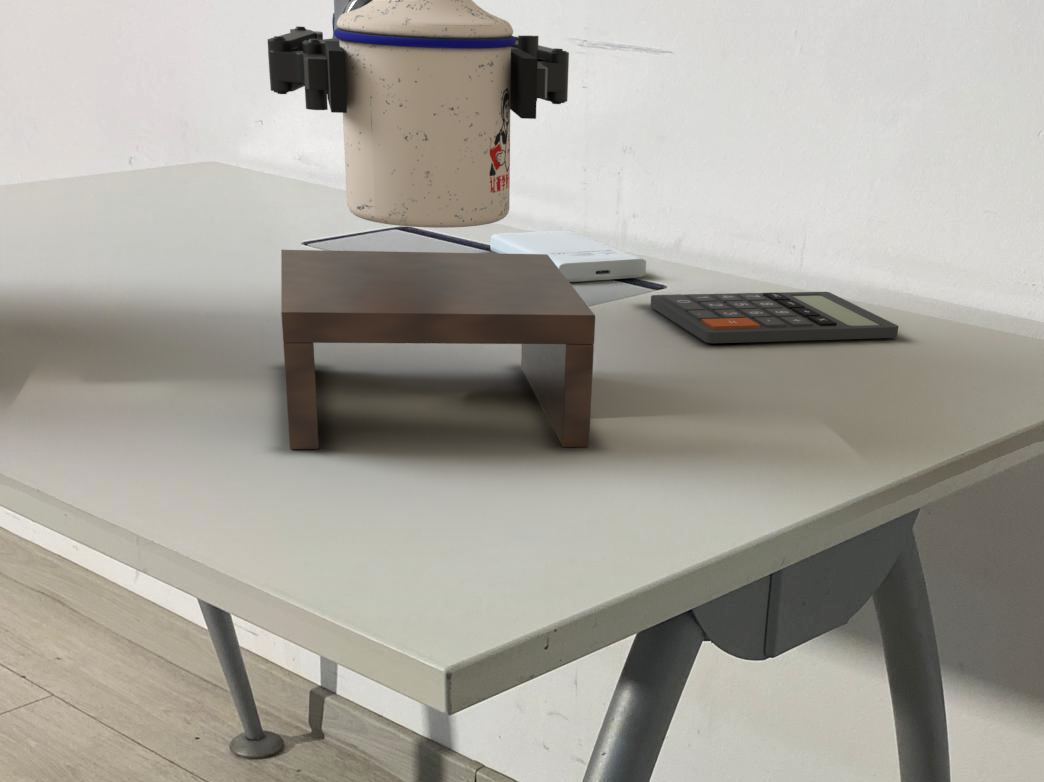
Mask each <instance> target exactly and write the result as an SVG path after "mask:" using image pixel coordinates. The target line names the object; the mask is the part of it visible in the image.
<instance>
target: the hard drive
mask: <svg viewBox="0 0 1044 782" xmlns="http://www.w3.org/2000/svg"><path fill="white" fill-rule="evenodd" d="M489 247H490V251H491V252H492V253H498V254H547V255H548V256H549V257H550V258H551V260H552V261H553V262H554V263H555V265H556V266H557V267H558V269H559V270H560V271H561V272H562V274H563V275H564V276H565V277H566V279H567V280H568V281H569V283H577V282H578V283H579V282H591V281H592V282H594V281H610V280H611V281H612V280H622V279H624V280H625V279H636V278H637V279H639V278H642V277H643V276H645V275H646V274H647V273H646V272H647V260H646V259H644V258H641V257H639V256H637V255H634V254H631V253H629V252H626V251H623V250H621V249H618V248H617V247H613V246H611V245H608V244H605V243H603V242H601V241H599V240H595V239H593V238H590V237H588V236H586V235H583V234H580V233H577V232H575V231H572V230H549V231H545V230H544V231H526V232H525V231H524V232H503V233H494V234H492V235H490V245H489Z"/></svg>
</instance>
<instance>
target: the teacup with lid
mask: <svg viewBox="0 0 1044 782" xmlns="http://www.w3.org/2000/svg"><path fill="white" fill-rule="evenodd" d="M336 25H337V27H338V28H337V29H335V31H334V35H335V37H336V38H338V39H339V42H340V47H342V48H343V49H344V54H345V79H346V104H347V113H342V123H343V125H342V126H343V146H344V147H343V148H344V149H343V150H344V170H345V173H344V174H345V192H346V206H347V208H348V210H349V211H350V213H351V214H352V215H354V216H355V217H358V218H360V219H362V220H366V221H369V222H373V223H379V224H383V225H384V224H385V225H391V226H399V227H411V228H436V229H437V228H439V229H441V228H443V229H445V228H446V229H449V228H468V227H469V228H470V227H479V226H484V225H485V226H486V225H491V224H493V223H497V222H499V221H502V220H503V219H505V218H506V217H507V216H508V214H509V212H510V193H511V192H510V188H511V187H510V185H511V183H510V182H511V180H510V179H511V176H510V175H511V109H510V92H511V46H513V45H515V43H516V39H515V37H516V36H514V35H513V34H514V28H513V27H512V25H511V23H510V22H509V21H507V20H506V19H503V18H501V17H498V16H497V15H494V14H492V13H489V12H488V11H486V10H484V9H483V8H481V7H480V6H479V5H478V4H477V3H476V2H475V1H473V0H372V1H371V2H370V3H368V4H367V5H365V6H363V7H361V8H359V9H356V10H353V11H350V12H347V13H344V14H342V15H341V16H340V17H339V19H338V21H337V24H336Z"/></svg>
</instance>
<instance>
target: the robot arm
mask: <svg viewBox="0 0 1044 782" xmlns="http://www.w3.org/2000/svg"><path fill="white" fill-rule="evenodd" d="M371 1H372V0H333V13H332V16H331V25H332V37H331V38H325V39H324V33H323V32H322V31H319V30H318V31H317V30H311V29H307V28H306V26H301V25H300V26H295V28H291V29H289V32H288V33H284V34H280V35H274V36H273V37H271V38H267V57H268V71H269V73H268V74H269V84H270V86H269V87H270V91H271V92H273V93H276V94H277V95H288V93H290V92H295V91H298V90H299V89H301V88H304V100H305V101H304V102H305V109H306V110H309V111H310V110H311V111H328V110H329V109H330V113H337V114H343V113H347V104H346V79H345V54H344V49H343V48H342V47H340V42H339V39H338V38H336V37H335V35H334V31H335V29H337V28H338V27H337V25H336V24H337V21H338V19H339V17H340V16H341V15H342V14H344V13H347V12H350V11H353V10H356V9H359V8H361V7H363V6H365V5H367V4H368V3H370V2H371ZM514 37H515V39H516V43H515V45H513V46H511V92H510V111H512V112H513V113H514V114H515V115H517V116H518V117H519V118H520V119H524V120H525V119H529V120H536V119H537V102H538V99H541V100H543V101H547V102H550V103H551V104H552V105H562V104H566V103H567V102H568V99H569V97H568V96H569V95H568V93H569V65H570V64H569V63H570V52H569V51H567V50H563V48H552V47H549V46H548V47H547V46H543V45H539V38H540V37H539V35H517V36H514ZM328 105H329V108H328Z"/></svg>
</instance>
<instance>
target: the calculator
mask: <svg viewBox="0 0 1044 782" xmlns="http://www.w3.org/2000/svg"><path fill="white" fill-rule="evenodd" d="M649 305H650V307H651V308H652V309H653V310H655V311H657V312H658V313H659V314H661V315H663V316H665V317H666V318H668V319H669V320H670V321H672V322H674V323H675V324H677V325H678V326H679V327H681V328H683V329H685V330H686V331H687V332H689V333H691V334H692V335H694V336H695V337H697V338H698V339H700V340H701V341H703V342H704V343H707V344H736V343H737V344H738V343H764V342H765V343H767V342H769V343H770V342H797V341H798V342H799V341H801V342H802V341H823V340H824V341H827V340H828V341H831V340H832V341H834V340H865V339H891V338H892V339H893V338H898V334H899V327H900V326H899V325H898V324H895V323H894V322H892V321H889V320H888V319H885V318H883V317H881V316H879V315H877V314H875V313H873V312H871V311H869V310H866V309H865V308H863V307H861V306H859V305H857V304H855V303H853V302H850V301H848V300H846V299H844V298H842V297H840V296H838V295H836V294H834V293H832V292H830V291H796V292H795V291H791V292H790V291H789V292H788V291H787V292H786V291H785V292H736V293H733V292H731V293H729V292H727V293H687V294H683V293H681V294H680V293H679V294H652V295H650V304H649Z"/></svg>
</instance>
